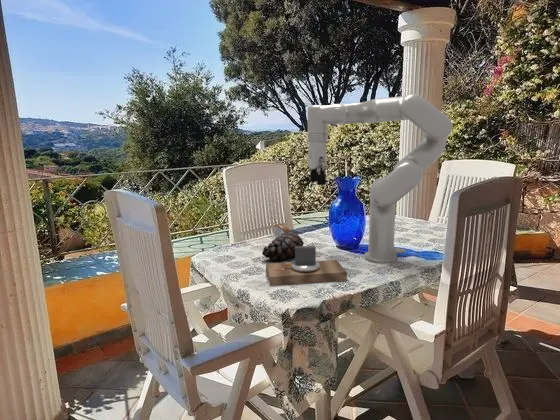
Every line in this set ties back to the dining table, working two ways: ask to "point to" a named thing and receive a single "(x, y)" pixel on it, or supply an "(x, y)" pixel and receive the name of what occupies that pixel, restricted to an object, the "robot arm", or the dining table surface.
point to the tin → (280, 230)
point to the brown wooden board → (305, 273)
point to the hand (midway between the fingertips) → (317, 183)
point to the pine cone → (282, 248)
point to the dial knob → (305, 259)
